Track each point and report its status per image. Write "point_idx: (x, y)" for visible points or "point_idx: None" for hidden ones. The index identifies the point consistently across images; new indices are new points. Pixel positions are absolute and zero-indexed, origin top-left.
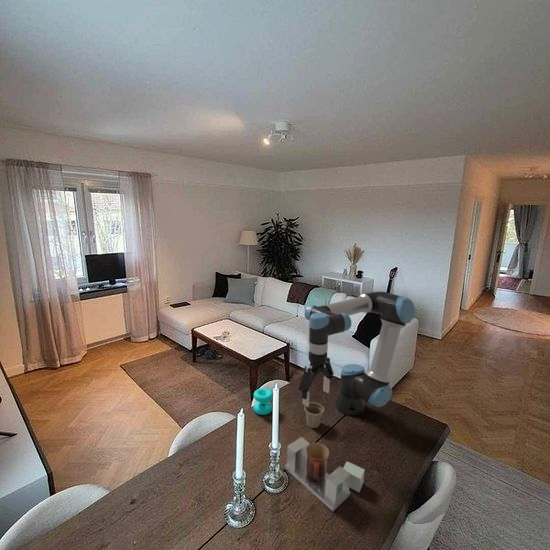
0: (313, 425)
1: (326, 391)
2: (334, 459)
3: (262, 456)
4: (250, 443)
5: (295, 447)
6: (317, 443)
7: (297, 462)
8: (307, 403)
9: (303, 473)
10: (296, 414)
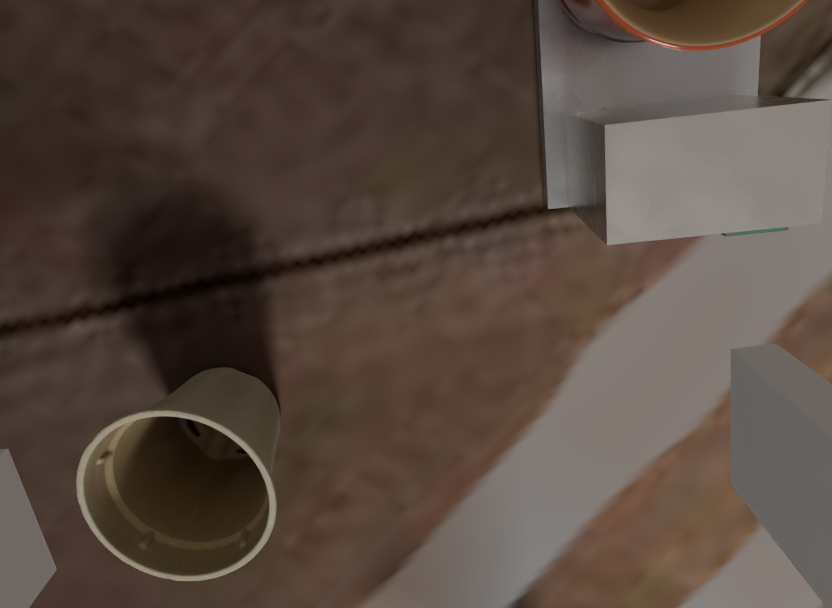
0: (255, 388)
1: (7, 507)
2: (343, 20)
3: None
4: None
5: (773, 159)
6: (612, 3)
7: (728, 100)
8: (825, 387)
9: None
10: (277, 555)
